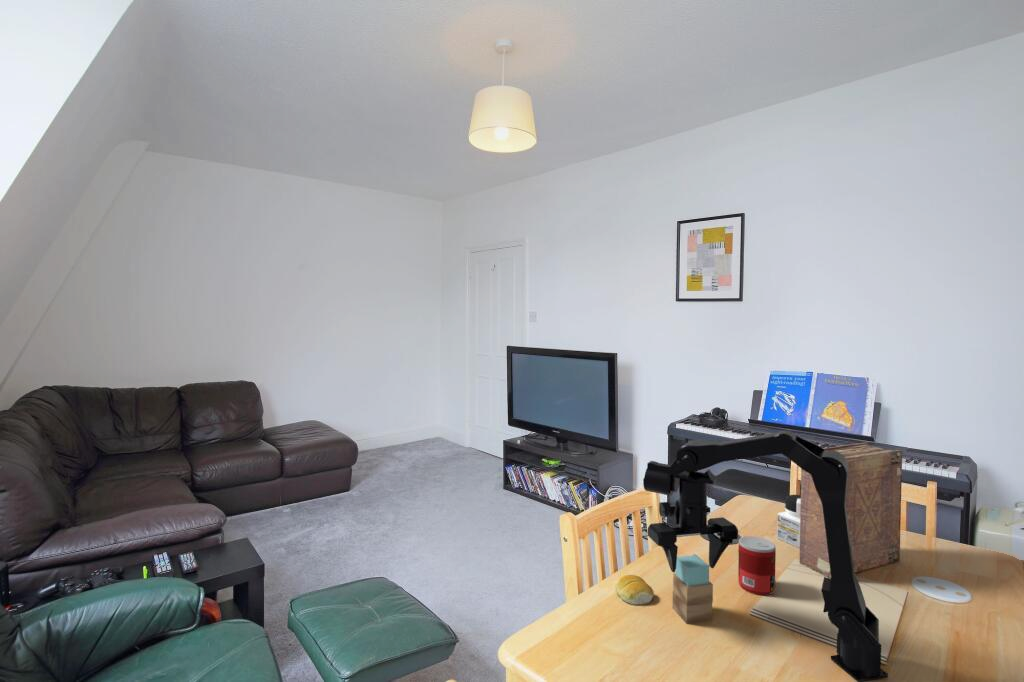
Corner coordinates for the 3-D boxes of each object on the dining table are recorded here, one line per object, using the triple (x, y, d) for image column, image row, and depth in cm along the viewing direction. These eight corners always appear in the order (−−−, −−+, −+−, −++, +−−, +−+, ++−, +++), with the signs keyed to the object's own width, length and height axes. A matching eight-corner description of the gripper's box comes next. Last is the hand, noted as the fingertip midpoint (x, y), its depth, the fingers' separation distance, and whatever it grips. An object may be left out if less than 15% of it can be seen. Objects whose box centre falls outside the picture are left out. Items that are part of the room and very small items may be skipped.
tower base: (712, 620, 110) (712, 602, 110) (686, 624, 109) (686, 606, 109) (696, 605, 116) (696, 588, 116) (672, 608, 115) (672, 591, 115)
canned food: (779, 597, 119) (779, 551, 118) (742, 594, 120) (743, 548, 120) (769, 580, 126) (770, 537, 126) (735, 577, 128) (735, 534, 127)
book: (865, 547, 144) (867, 441, 142) (900, 561, 135) (903, 449, 134) (799, 563, 135) (801, 451, 134) (831, 580, 126) (834, 460, 125)
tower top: (712, 602, 110) (712, 584, 110) (687, 605, 109) (687, 587, 109) (697, 588, 116) (697, 570, 116) (673, 590, 115) (673, 573, 115)
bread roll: (640, 583, 126) (640, 567, 126) (658, 603, 117) (658, 586, 117) (609, 587, 124) (609, 571, 124) (625, 608, 115) (625, 590, 115)
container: (776, 538, 150) (777, 494, 149) (794, 533, 153) (795, 490, 153) (801, 549, 143) (801, 503, 142) (819, 543, 146) (820, 499, 146)
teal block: (709, 583, 110) (709, 565, 110) (687, 586, 109) (688, 568, 109) (696, 572, 115) (696, 554, 115) (675, 574, 114) (675, 557, 114)
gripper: (711, 484, 121) (710, 549, 122) (637, 490, 118) (636, 556, 118) (740, 501, 110) (739, 572, 111) (659, 508, 107) (659, 581, 107)
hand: (692, 569), depth 112 cm, fingers open, 9 cm apart
